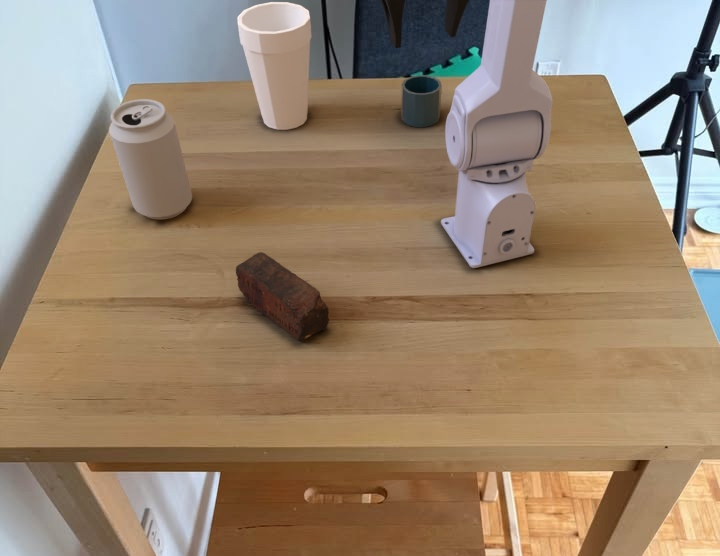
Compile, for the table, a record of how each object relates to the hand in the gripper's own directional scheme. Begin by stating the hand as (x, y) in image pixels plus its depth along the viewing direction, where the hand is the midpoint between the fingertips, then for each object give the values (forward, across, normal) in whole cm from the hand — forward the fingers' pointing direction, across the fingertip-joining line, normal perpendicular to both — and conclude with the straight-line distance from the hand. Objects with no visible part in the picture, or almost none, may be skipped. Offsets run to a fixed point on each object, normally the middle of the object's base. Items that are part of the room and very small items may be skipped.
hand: (422, 38), depth 92 cm
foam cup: (+11, +18, -6) cm, 22 cm away
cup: (+10, 0, +1) cm, 10 cm away
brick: (+8, +29, +34) cm, 45 cm away
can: (+10, +38, +8) cm, 40 cm away
